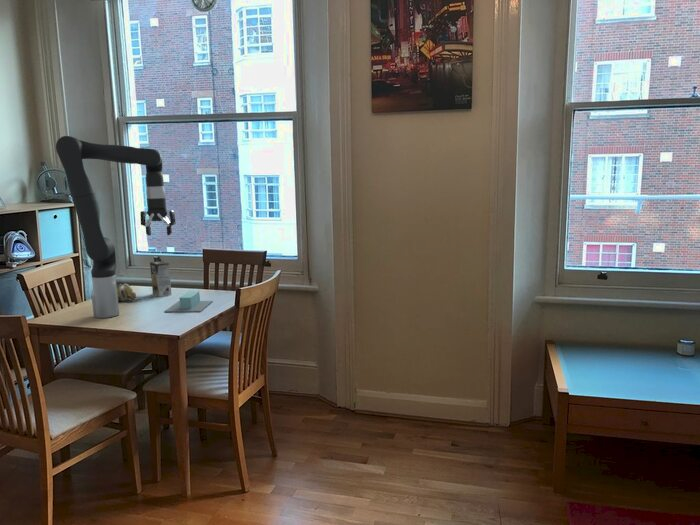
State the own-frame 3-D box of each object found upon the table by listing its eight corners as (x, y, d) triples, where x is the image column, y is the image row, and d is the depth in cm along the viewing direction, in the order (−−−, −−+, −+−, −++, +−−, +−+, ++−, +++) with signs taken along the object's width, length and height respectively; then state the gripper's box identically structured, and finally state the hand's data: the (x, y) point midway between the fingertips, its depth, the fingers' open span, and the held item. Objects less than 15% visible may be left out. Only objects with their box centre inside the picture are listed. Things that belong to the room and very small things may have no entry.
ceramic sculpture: (134, 278, 269) (134, 285, 256) (136, 295, 271) (136, 303, 258) (111, 280, 266) (109, 288, 252) (113, 297, 268) (111, 306, 254)
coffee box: (152, 294, 273) (149, 262, 270) (164, 292, 277) (162, 260, 275) (159, 297, 266) (156, 264, 264) (172, 295, 270) (169, 262, 268)
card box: (189, 302, 253) (180, 308, 241) (188, 291, 252) (179, 297, 241) (200, 301, 253) (191, 308, 241) (199, 291, 252) (190, 297, 240)
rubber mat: (164, 312, 238) (164, 311, 238) (178, 302, 255) (178, 301, 255) (200, 312, 237) (200, 310, 237) (212, 301, 255) (212, 300, 255)
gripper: (135, 198, 230) (139, 236, 233) (169, 197, 229) (172, 236, 232) (143, 197, 237) (146, 234, 240) (175, 196, 237) (178, 233, 239)
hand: (159, 235), depth 236 cm, fingers open, 8 cm apart
